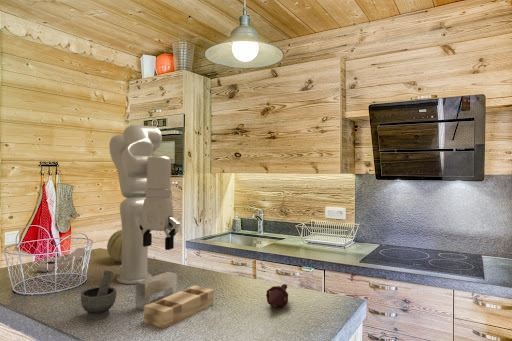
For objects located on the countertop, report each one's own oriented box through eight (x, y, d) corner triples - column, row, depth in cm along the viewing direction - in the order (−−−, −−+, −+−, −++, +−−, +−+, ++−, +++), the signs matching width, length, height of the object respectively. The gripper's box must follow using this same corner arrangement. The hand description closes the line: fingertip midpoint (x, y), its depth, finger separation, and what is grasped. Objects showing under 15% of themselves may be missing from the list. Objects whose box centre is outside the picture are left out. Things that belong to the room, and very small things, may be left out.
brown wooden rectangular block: (143, 322, 105) (143, 306, 104) (194, 298, 124) (194, 285, 124) (164, 328, 100) (164, 312, 100) (213, 303, 120) (213, 289, 119)
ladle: (89, 248, 171) (42, 260, 148) (89, 260, 171) (42, 275, 148) (79, 247, 173) (31, 259, 150) (79, 259, 173) (31, 273, 150)
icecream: (284, 296, 109) (297, 286, 123) (261, 287, 111) (277, 277, 125) (277, 319, 109) (291, 306, 123) (255, 309, 112) (271, 297, 125)
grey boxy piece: (135, 308, 115) (135, 282, 115) (167, 295, 127) (168, 271, 127) (144, 310, 113) (145, 284, 113) (176, 297, 125) (176, 273, 125)
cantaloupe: (116, 257, 178) (116, 225, 178) (145, 258, 177) (146, 226, 177) (100, 265, 163) (100, 231, 163) (132, 266, 162) (132, 232, 162)
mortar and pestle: (103, 323, 103) (103, 280, 103) (72, 320, 105) (73, 278, 105) (124, 308, 114) (124, 269, 114) (96, 306, 116) (97, 267, 116)
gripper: (130, 194, 121) (130, 246, 120) (170, 195, 112) (169, 252, 112) (148, 193, 127) (147, 243, 127) (187, 194, 118) (186, 248, 118)
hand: (158, 247), depth 119 cm, fingers open, 9 cm apart
